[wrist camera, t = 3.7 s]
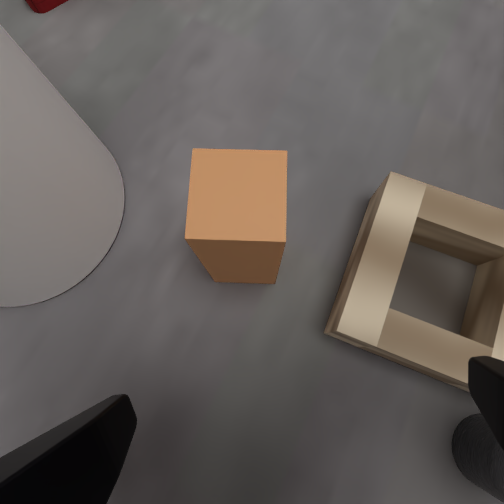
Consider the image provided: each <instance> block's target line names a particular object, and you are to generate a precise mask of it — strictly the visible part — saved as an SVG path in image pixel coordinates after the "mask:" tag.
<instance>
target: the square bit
mask: <svg viewBox="0 0 504 504" xmlns="http://www.w3.org/2000/svg"><path fill="white" fill-rule="evenodd" d="M286 197H287V151H278V150H234V149H193V151H192V163H191V174H190V185H189V196H188V208H187V219H186V230H185V240H186V241H187V243H188V244H189V246H190V247H191V248H192V250H193V251H194V253H195V254H196V256H197V257H198V258H199V260H200V261H201V263H202V264H203V265H204V267H205V268H206V270H207V271H208V273H209V274H210V275H211V277H212V278H213V280H214V281H215V282H230V283H260V284H275V282H276V278H277V274H278V270H279V267H280V263H281V259H282V255H283V251H284V247H285V243H286Z"/></svg>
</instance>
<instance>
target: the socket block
mask: <svg viewBox="0 0 504 504" xmlns="http://www.w3.org/2000/svg"><path fill="white" fill-rule="evenodd" d="M324 334H327V335H329V336H332V337H334V338H337V339H339V340H341V341H344V342H346V343H349V344H351V345H354V346H356V347H359V348H361V349H364V350H366V351H368V352H371V353H373V354H376V355H378V356H381V357H383V358H386V359H388V360H391V361H393V362H396V363H398V364H400V365H403V366H405V367H408V368H410V369H413V370H415V371H418V372H420V373H423V374H425V375H428V376H430V377H432V378H435V379H437V380H440V381H442V382H445V383H447V384H450V385H452V386H455V387H457V388H460V389H462V390H464V391H467V392H469V393H470V391H469V387H468V361H469V359H470V358H471V357H476V356H490V357H493V358H496V359H499V360H502V361H504V210H502V209H499V208H496V207H493V206H490V205H487V204H484V203H481V202H478V201H476V200H473V199H470V198H467V197H464V196H461V195H458V194H455V193H452V192H449V191H446V190H444V189H441V188H438V187H435V186H432V185H429V184H426V183H423V182H420V181H417V180H414V179H412V178H409V177H406V176H403V175H400V174H397V173H394V172H390V173H389V174H388V176H387V177H386V178H385V180H384V181H383V182H382V184H381V185H380V186H379V188H378V189H377V190H376V192H375V193H374V194H373V196H372V197H371V198H370V201H369V204H368V207H367V210H366V213H365V216H364V218H363V221H362V224H361V227H360V230H359V233H358V236H357V239H356V241H355V244H354V247H353V250H352V253H351V256H350V259H349V261H348V264H347V267H346V270H345V273H344V276H343V279H342V282H341V284H340V287H339V290H338V293H337V296H336V299H335V302H334V305H333V307H332V310H331V313H330V316H329V319H328V322H327V325H326V328H325V330H324Z"/></svg>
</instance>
